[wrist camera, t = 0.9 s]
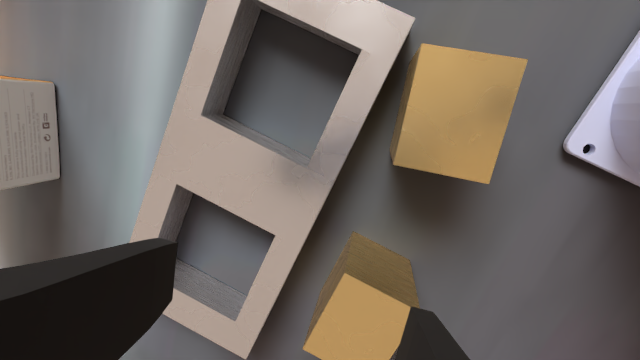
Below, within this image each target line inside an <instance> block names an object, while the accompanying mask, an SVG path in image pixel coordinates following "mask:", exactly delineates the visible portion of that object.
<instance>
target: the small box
mask: <svg viewBox="0 0 640 360" xmlns="http://www.w3.org/2000/svg"><path fill="white" fill-rule="evenodd" d="M59 177H60V164H59V146H58V129H57V113H56V100H55V86H54V83H53V82H50V81H40V80H30V79H22V78H14V77H6V76H0V190H5V189H10V188H16V187H21V186H26V185H30V184H35V183H40V182H44V181H49V180H55V179H59Z"/></svg>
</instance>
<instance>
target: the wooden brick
mask: <svg viewBox="0 0 640 360" xmlns="http://www.w3.org/2000/svg"><path fill="white" fill-rule="evenodd" d="M527 60H528V59H521V58H515V57H508V56H501V55H495V54H488V53H482V52H475V51H469V50H462V49H455V48H449V47H442V46H436V45H429V44H423V43H422V44H421V46H420V47H419V49H418V50H417V52H416V53H415V55H414V56H413V58H412V59H411V61H410V63H409V67H408V71H407V76H406V80H405V84H404V89H403V93H402V98H401V102H400V106H399V111H398V115H397V119H396V124H395V128H394V132H393V137H392V141H391V145H390V153H391V157H392V161H393V165H397V166H402V167H407V168H412V169H417V170H422V171H427V172H431V173H436V174H441V175H446V176H451V177H456V178H461V179H466V180H471V181H476V182H481V183H486V184H489V182H490V179H491V175H492V172H493V169H494V166H495V163H496V159H497V156H498V153H499V150H500V147H501V143H502V140H503V137H504V134H505V131H506V127H507V124H508V121H509V118H510V115H511V111H512V108H513V105H514V102H515V99H516V95H517V92H518V89H519V86H520V83H521V79H522V76H523V73H524V70H525V67H526V63H527Z"/></svg>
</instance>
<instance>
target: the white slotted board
mask: <svg viewBox="0 0 640 360" xmlns="http://www.w3.org/2000/svg"><path fill="white" fill-rule="evenodd" d="M261 9H263V10H265V11H267V12H269V13H271V14H273V15H275V16H278V17H280V18H282V19H284V20H286V21H288V22H290V23H292V24H294V25H297V26H299V27H301V28H303V29H305V30H307V31H309V32H311V33H314V34H316V35H318V36H320V37H322V38H324V39H326V40H328V41H330V42H333V43H335V44H337V45H339V46H341V47H343V48H345V49H347V50H350V51H352V52H354V53H356V54H358V55H359V57H358V59H357V61H356V63H355V65H354V68H353V70H352V72H351V74H350V76H349V78H348V80H347V83H346V85H345V87H344V89H343V91H342V93H341V96H340V98H339V100H338V102H337V104H336V106H335V108H334V111H333V113H332V115H331V117H330V119H329V121H328V124H327V126H326V128H325V130H324V132H323V134H322V136H321V139H320V141H319V143H318V145H317V147H316V149H315V152H314V154H313V156H312V158H309V157H307V156H305V155H303V154H301V153H299V152H297V151H295V150H293V149H291V148H289V147H287V146H285V145H283V144H281V143H279V142H277V141H275V140H273V139H271V138H269V137H267V136H265V135H263V134H261V133H259V132H257V131H255V130H253V129H251V128H249V127H247V126H245V125H243V124H241V123H239V122H237V121H235V120H233V119H231V118H229V117H227V116H225V115H223V112H224V109H225V106H226V104H227V101H228V98H229V96H230V93H231V90H232V87H233V85H234V82H235V79H236V77H237V74H238V71H239V68H240V66H241V63H242V60H243V58H244V55H245V52H246V49H247V47H248V44H249V41H250V39H251V36H252V33H253V30H254V28H255V25H256V22H257V20H258V17H259V14H260V11H261ZM414 20H415V18H414V17H412V16H410V15H407V14H405V13H403V12H401V11H399V10H396V9H394V8H392V7H390V6H388V5H386V4H383V3H381V2H379V1H377V0H208V1H207V4H206V7H205V10H204V13H203V16H202V19H201V23H200V26H199V29H198V32H197V35H196V38H195V41H194V44H193V47H192V50H191V54H190V57H189V60H188V63H187V66H186V69H185V72H184V75H183V78H182V81H181V85H180V88H179V91H178V94H177V97H176V100H175V103H174V106H173V109H172V112H171V116H170V119H169V122H168V125H167V128H166V131H165V134H164V137H163V140H162V143H161V147H160V150H159V153H158V156H157V159H156V162H155V165H154V168H153V171H152V174H151V177H150V181H149V184H148V187H147V190H146V193H145V196H144V199H143V202H142V205H141V208H140V212H139V215H138V218H137V221H136V224H135V227H134V230H133V233H132V236H131V239H130V243H132V242H137V241H141V240H147V239H153V238H163V239H166V240H170V241H174V242H176V239H177V237H178V234H179V231H180V229H181V226H182V223H183V220H184V218H185V215H186V212H187V210H188V207H189V204H190V201H191V199H192V196H193V193H195V194H197V195H199V196H201V197H203V198H205V199H207V200H208V201H210V202H212V203H214V204H216V205H218V206H220V207H222V208H224V209H226V210H228V211H230V212H232V213H233V214H235V215H237V216H239V217H241V218H243V219H245V220H247V221H249V222H251V223H253V224H255V225H257V226H258V227H260V228H262V229H264V230H266V231H268V232H270V233H272V234H274V235H275V238H274V240H273V242H272V244H271V246H270V248H269V250H268V253H267V255H266V257H265V259H264V261H263V263H262V266H261V268H260V270H259V272H258V274H257V276H256V278H255V281H254V283H253V285H252V287H251V289H250V291H249V294H248V296H246V295H244V294H242V293H240V292H239V291H237V290H235V289H233V288H231V287H229V286H227V285H226V284H224V283H222V282H220V281H218V280H216V279H214V278H213V277H211V276H209V275H207V274H205V273H203V272H201V271H199V270H198V269H196V268H194V267H192V266H190V265H188V264H186V263H185V262H183V261H181V260H179V259H177V258H176V266H175V276H174V287H173V298H172V301H171V302H170V304H169V305H168V306H167V308H166V309H165V310H164V312H163V313H162V314H164V315H166V316H168V317H169V318H171V319H173V320H175V321H177V322H178V323H180V324H182V325H184V326H186V327H188V328H189V329H191V330H193V331H195V332H197V333H198V334H200V335H202V336H204V337H206V338H208V339H209V340H211V341H213V342H215V343H217V344H218V345H220V346H222V347H224V348H226V349H227V350H229V351H231V352H233V353H235V354H237V355H238V356H240V357H242V358H244V359H246V358H247V357H248V355H249V353H250V351H251V349H252V347H253V345H254V343H255V341H256V340H257V338H258V336H259V334H260V332H261V330H262V328H263V326H264V324H265V322H266V320H267V318H268V316H269V314H270V312H271V310H272V308H273V306H274V304H275V302H276V300H277V298H278V296H279V294H280V292H281V290H282V288H283V286H284V284H285V282H286V280H287V278H288V276H289V274H290V272H291V270H292V268H293V266H294V264H295V262H296V260H297V258H298V256H299V254H300V252H301V250H302V248H303V245H304V243H305V241H306V239H307V237H308V235H309V233H310V231H311V229H312V227H313V225H314V223H315V221H316V219H317V217H318V215H319V213H320V211H321V209H322V207H323V205H324V203H325V201H326V199H327V197H328V195H329V193H330V191H331V189H332V187H333V185H334V183H335V181H336V179H337V177H338V175H339V173H340V171H341V169H342V167H343V165H344V163H345V161H346V159H347V157H348V155H349V153H350V151H351V149H352V147H353V145H354V143H355V141H356V139H357V137H358V135H359V133H360V131H361V129H362V127H363V125H364V123H365V121H366V119H367V117H368V115H369V113H370V111H371V109H372V107H373V105H374V103H375V101H376V99H377V97H378V95H379V93H380V91H381V89H382V87H383V85H384V83H385V81H386V79H387V77H388V75H389V73H390V71H391V69H392V67H393V64H394V62H395V60H396V58H397V56H398V54H399V52H400V50H401V48H402V46H403V44H404V42H405V40H406V38H407V36H408V34H409V32H410V30H411V28H412V25H413V23H414Z"/></svg>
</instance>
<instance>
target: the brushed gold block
mask: <svg viewBox="0 0 640 360" xmlns="http://www.w3.org/2000/svg"><path fill="white" fill-rule="evenodd" d="M411 306H412V307H416V308H419V309H420V307H419V302H418V298H417V293H416V288H415V283H414V279H413V274H412V269H411V264H410V260H408V259H406V258H405V257H403V256H401V255H399V254H397V253H395V252H393V251H391V250H389V249H387V248H385V247H383V246H381V245H379V244H377V243H375V242H373V241H371V240H369V239H367V238H366V237H364V236H362V235H360V234H358V233H356V232H354V231H353V232H352V234H351V236H350V238H349V240H348V242H347V244H346V245H345V247H344V249H343V251H342V253H341V255H340V256H339V258H338V260H337V262H336V264H335V266H334V268H333V269H332V271H331V273H330V275H329V277H328V279H327V281H326V282H325V284H324V286H323V288H322V290H321V292H320V295H319V298H318V301H317V304H316V308H315V311H314V314H313V317H312V320H311V323H310V327H309V330H308V333H307V336H306V339H305V343H304V346H303V349H304V350H305V351H307V352H309V353H311V354H313V355H315V356H316V357H318V358H320V359H322V360H389V359H390V358H391V356H392V355H393V353H394V352H395V350H396V349H397V347H398V346H399V344H400V342H401V338H402V335H403V332H404V328H405V325H406V321H407V318H408V315H409V311H410V308H411Z"/></svg>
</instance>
